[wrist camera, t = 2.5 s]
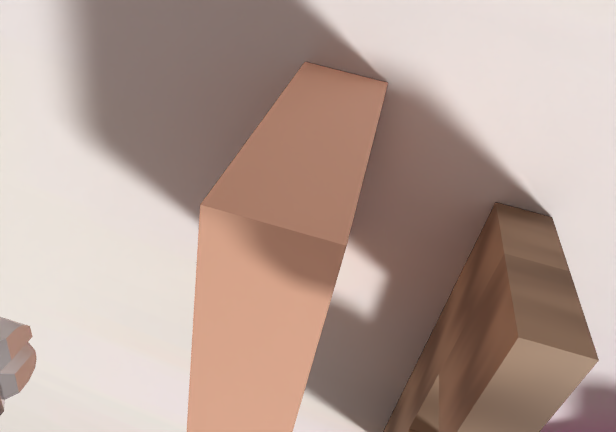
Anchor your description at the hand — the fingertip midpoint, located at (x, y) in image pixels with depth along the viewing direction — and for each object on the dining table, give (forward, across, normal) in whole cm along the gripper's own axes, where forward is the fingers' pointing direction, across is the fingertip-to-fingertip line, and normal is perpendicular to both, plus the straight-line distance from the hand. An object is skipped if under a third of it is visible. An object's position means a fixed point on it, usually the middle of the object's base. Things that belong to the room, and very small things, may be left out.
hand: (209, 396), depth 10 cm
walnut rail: (+14, -9, +11) cm, 20 cm away
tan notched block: (+14, 0, +3) cm, 14 cm away
